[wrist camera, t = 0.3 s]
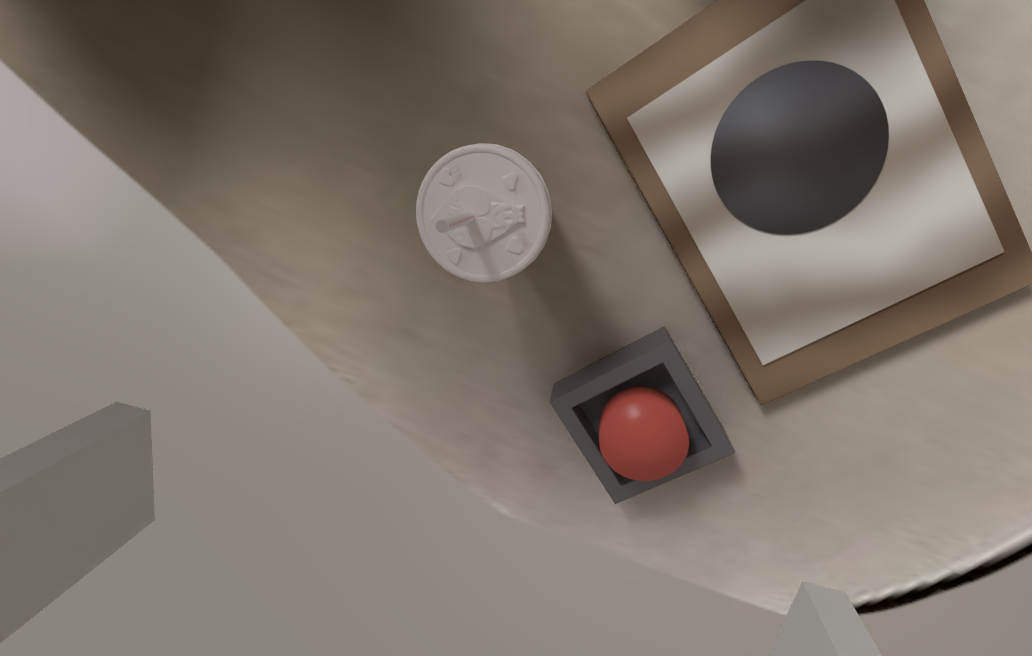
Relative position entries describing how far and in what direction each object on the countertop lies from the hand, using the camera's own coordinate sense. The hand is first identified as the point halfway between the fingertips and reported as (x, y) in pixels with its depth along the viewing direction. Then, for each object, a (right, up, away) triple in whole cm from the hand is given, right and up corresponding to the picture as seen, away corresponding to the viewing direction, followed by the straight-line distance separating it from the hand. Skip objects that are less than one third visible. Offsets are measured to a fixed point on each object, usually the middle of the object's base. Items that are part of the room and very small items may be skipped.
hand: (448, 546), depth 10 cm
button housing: (+10, -1, +25) cm, 27 cm away
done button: (+9, -2, +23) cm, 25 cm away
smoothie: (+1, +12, +23) cm, 26 cm away
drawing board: (+18, +13, +20) cm, 30 cm away
